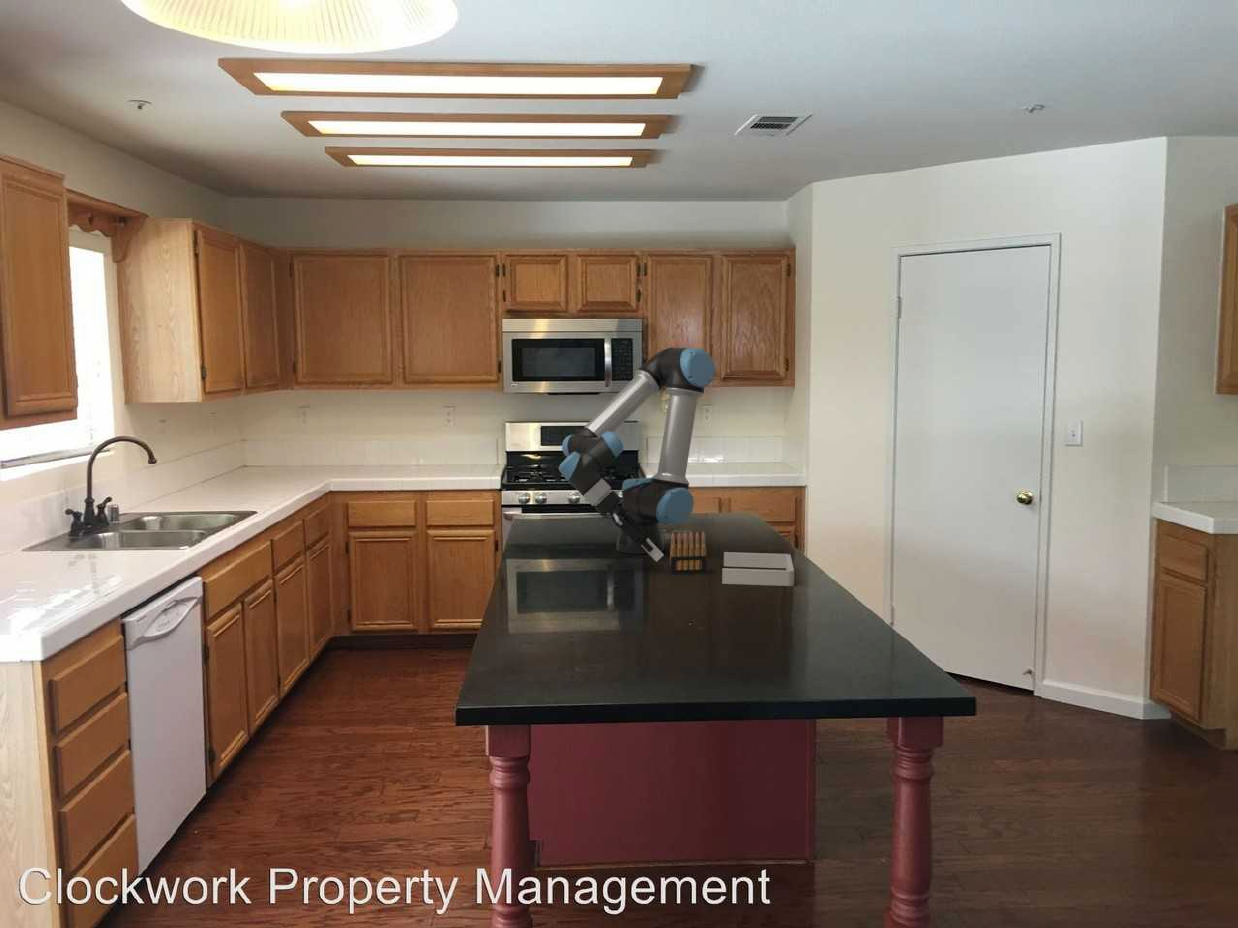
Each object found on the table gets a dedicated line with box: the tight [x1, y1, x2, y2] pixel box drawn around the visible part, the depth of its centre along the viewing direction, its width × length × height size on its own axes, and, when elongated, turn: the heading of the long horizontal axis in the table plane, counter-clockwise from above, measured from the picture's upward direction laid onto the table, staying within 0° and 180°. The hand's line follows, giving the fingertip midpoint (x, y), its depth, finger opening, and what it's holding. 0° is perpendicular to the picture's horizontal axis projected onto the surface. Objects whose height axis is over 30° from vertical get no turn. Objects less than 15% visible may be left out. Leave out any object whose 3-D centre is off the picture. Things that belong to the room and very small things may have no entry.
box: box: [721, 551, 795, 587], centre depth 261 cm, size 22×19×4 cm
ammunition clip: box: [668, 531, 708, 575], centre depth 263 cm, size 11×2×12 cm, turn 98°
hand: (660, 558), depth 263 cm, fingers closed
